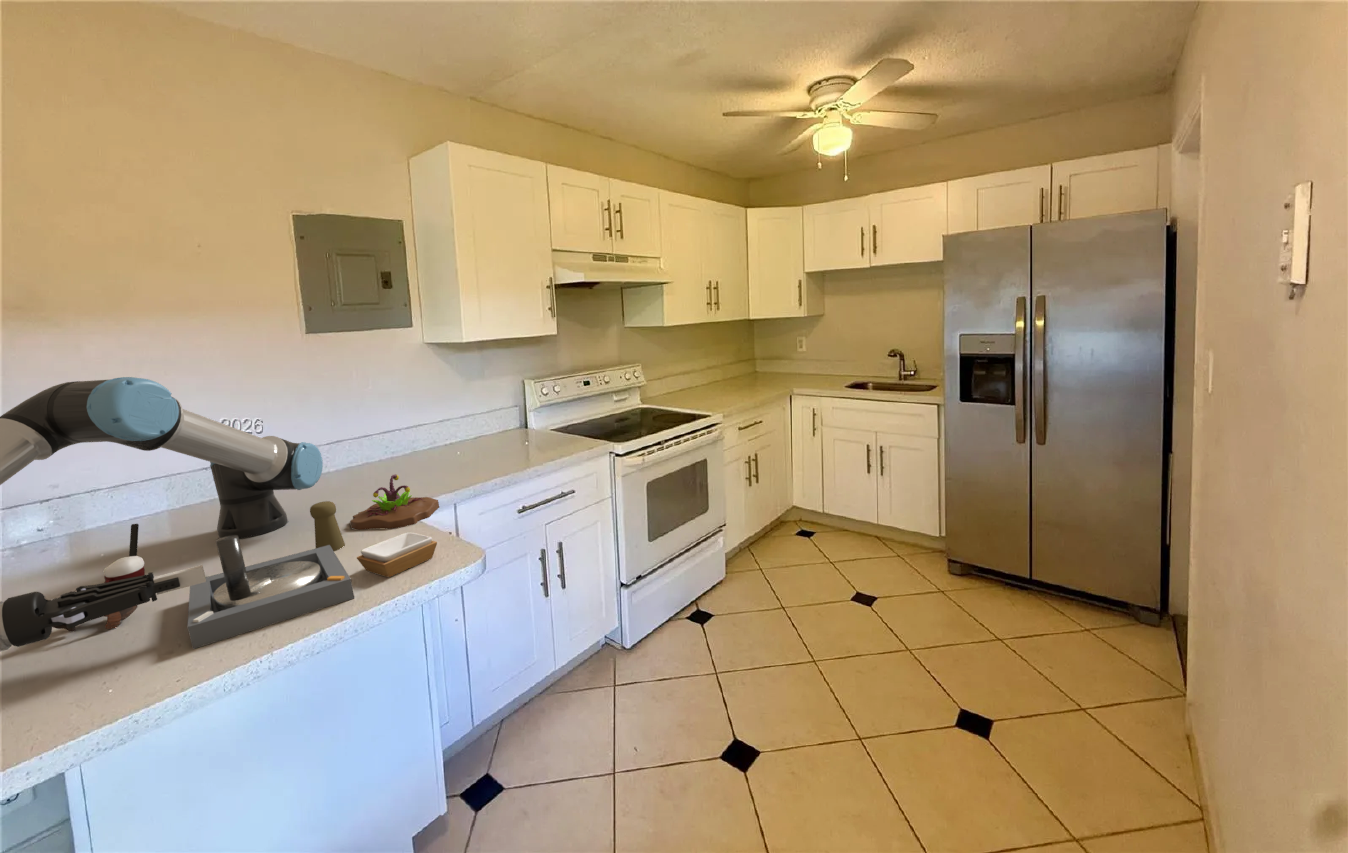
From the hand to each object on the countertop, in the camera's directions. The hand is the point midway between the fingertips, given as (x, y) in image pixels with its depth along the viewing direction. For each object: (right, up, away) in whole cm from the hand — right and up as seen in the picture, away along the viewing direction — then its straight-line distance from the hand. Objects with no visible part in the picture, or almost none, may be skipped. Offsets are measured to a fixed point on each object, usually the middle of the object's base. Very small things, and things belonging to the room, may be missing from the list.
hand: (204, 573), depth 105 cm
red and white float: (-33, -8, +22) cm, 41 cm away
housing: (+5, -8, +11) cm, 14 cm away
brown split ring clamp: (-23, -11, +5) cm, 26 cm away
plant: (+8, +1, +56) cm, 57 cm away
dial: (+5, -6, +10) cm, 13 cm away
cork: (+2, -3, +36) cm, 36 cm away
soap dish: (+24, -4, +23) cm, 33 cm away
